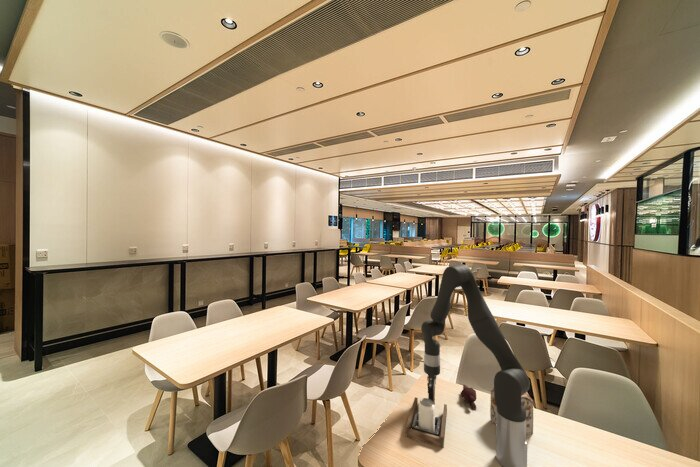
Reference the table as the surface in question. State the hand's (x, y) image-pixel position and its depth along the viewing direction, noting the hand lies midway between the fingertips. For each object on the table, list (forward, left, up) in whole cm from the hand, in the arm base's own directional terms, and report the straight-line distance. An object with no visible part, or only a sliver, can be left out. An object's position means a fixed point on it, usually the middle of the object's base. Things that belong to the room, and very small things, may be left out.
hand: (431, 398), depth 132 cm
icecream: (-17, -10, -3) cm, 20 cm away
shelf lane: (0, +15, -3) cm, 15 cm away
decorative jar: (-33, +2, -3) cm, 33 cm away
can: (0, +19, -3) cm, 19 cm away
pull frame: (0, +11, -3) cm, 12 cm away
